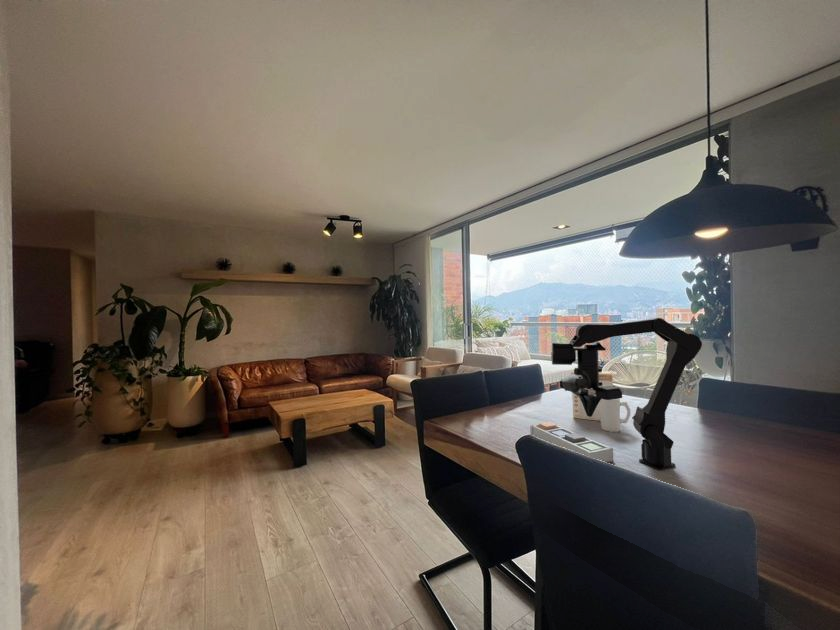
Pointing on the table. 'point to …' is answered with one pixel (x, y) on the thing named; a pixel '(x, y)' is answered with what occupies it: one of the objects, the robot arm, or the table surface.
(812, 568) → the table surface
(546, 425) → the key terracotta
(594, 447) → the key sage
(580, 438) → the key charcoal
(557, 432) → the key blue
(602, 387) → the robot arm
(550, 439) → the keypad
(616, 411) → the mug
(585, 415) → the coffeecake box
